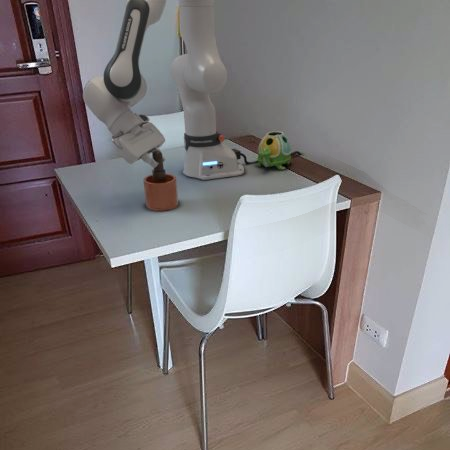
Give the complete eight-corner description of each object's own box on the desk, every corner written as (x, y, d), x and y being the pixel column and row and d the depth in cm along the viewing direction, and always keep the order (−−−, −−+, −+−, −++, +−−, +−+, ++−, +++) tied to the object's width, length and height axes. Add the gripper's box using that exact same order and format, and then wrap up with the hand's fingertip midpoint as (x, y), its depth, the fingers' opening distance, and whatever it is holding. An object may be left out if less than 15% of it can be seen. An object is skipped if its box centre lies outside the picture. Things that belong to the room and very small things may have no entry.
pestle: (165, 177, 152) (163, 148, 147) (166, 181, 148) (163, 151, 144) (152, 178, 151) (150, 148, 146) (153, 182, 148) (150, 152, 143)
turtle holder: (246, 172, 180) (247, 139, 174) (265, 158, 194) (266, 127, 187) (278, 176, 175) (279, 142, 169) (295, 162, 189) (297, 130, 182)
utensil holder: (177, 198, 159) (175, 172, 154) (179, 209, 151) (177, 182, 146) (146, 200, 158) (143, 174, 153) (146, 212, 150) (143, 185, 145)
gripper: (114, 129, 135) (150, 167, 137) (148, 113, 151) (180, 148, 153) (103, 144, 138) (137, 181, 141) (137, 127, 154) (168, 161, 157)
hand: (160, 164), depth 147 cm, fingers closed on pestle, 3 cm apart
